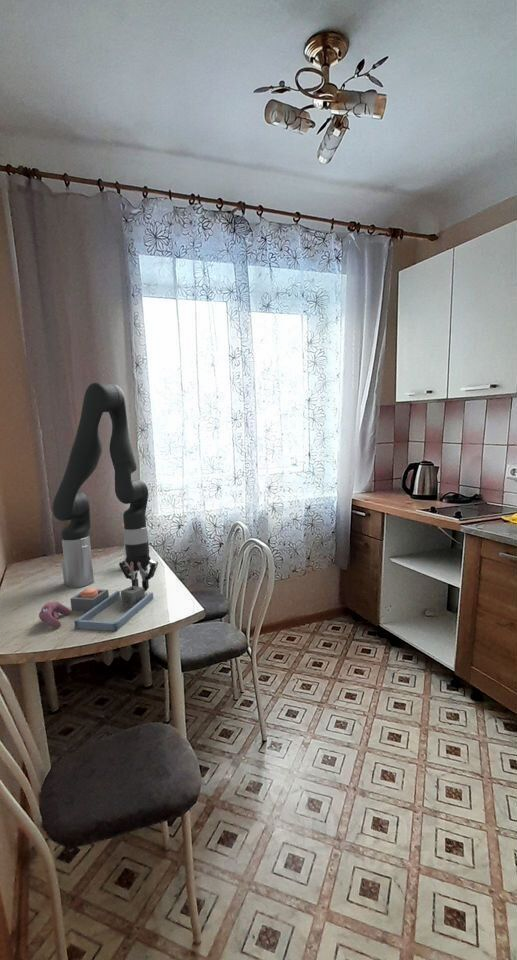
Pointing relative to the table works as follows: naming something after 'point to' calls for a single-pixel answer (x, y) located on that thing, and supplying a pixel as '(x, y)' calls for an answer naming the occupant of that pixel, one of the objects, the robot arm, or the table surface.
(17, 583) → the table surface
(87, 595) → the button
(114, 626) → the track
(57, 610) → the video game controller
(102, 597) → the button housing
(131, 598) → the gray cube
